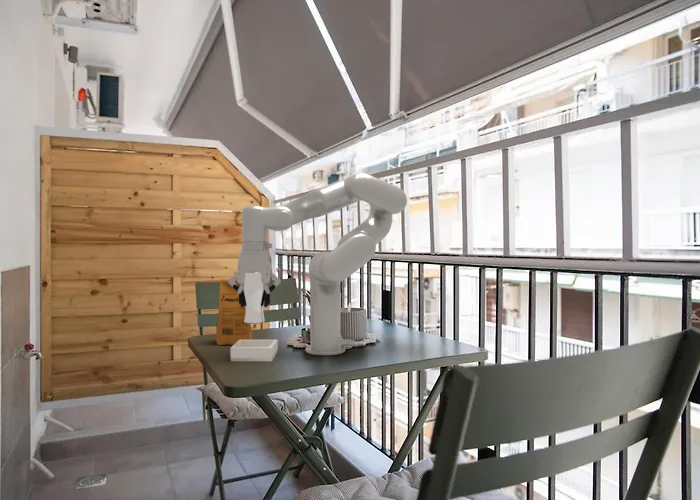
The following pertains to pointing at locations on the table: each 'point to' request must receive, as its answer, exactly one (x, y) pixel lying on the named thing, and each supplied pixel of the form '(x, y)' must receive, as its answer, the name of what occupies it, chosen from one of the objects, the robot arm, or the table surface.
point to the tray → (254, 350)
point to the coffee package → (231, 317)
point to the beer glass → (253, 298)
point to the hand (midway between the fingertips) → (254, 306)
